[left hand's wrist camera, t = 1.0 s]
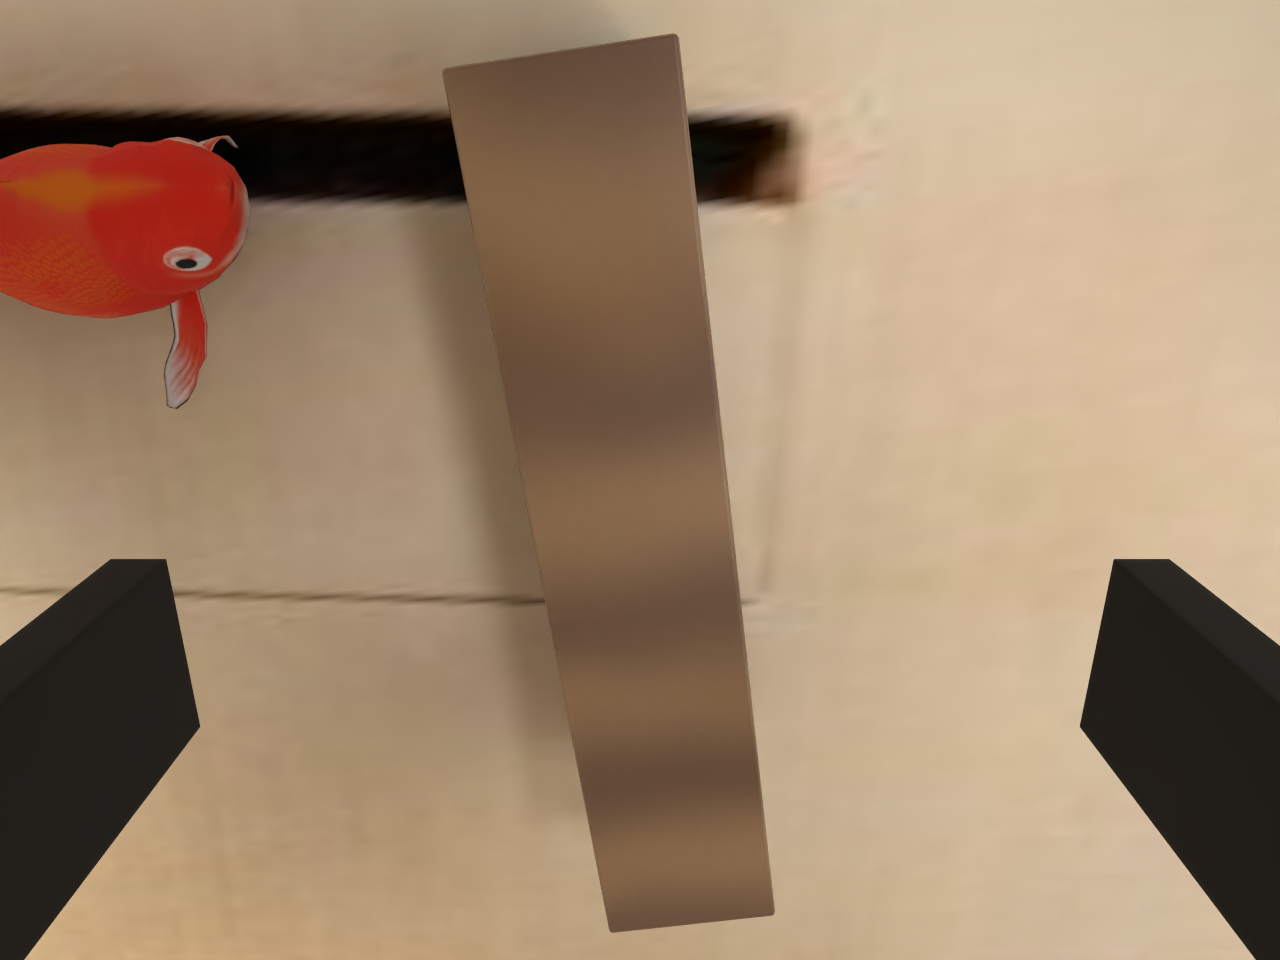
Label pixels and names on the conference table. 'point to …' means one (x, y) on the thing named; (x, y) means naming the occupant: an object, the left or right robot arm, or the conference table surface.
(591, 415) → the bar
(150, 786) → the left robot arm
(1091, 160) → the conference table surface
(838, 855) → the conference table surface
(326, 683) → the conference table surface
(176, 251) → the fish
